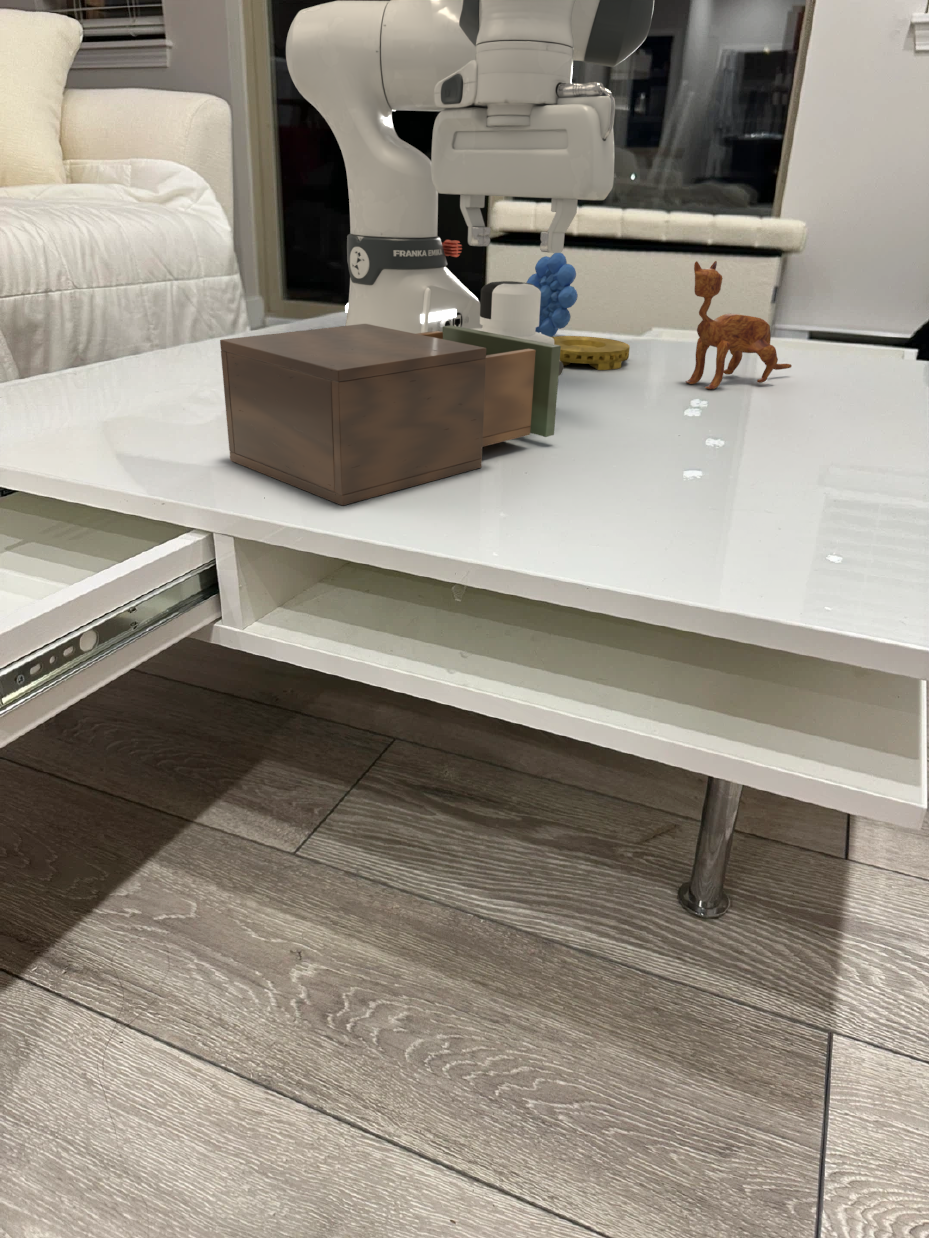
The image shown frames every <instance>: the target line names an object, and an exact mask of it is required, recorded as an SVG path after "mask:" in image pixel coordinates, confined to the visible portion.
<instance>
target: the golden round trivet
mask: <svg viewBox="0 0 929 1238" xmlns="http://www.w3.org/2000/svg"><path fill="white" fill-rule="evenodd" d="M552 338H553V339H554V345H559V346H561V350H560V361H561V362H562V363H563V367H564V366H567V365H570V364H571V363H572V364H589V366H590V367H591V368H594V369H596V370H597V371H608V370H609V371H610V370H617V369H621V368H622V363H623V362H626V361H628V360H629V359H630V358H629V357H630V356H629V355H630V349H631V347H630V346H631V345H630V344H628V343H626V342H623V341H621V340H617V339H611V338H606V337H597V336H586V335H585V336H584V335H554V336H553V337H552Z"/></svg>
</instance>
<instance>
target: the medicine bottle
mask: <svg viewBox="0 0 929 1238" xmlns="http://www.w3.org/2000/svg"><path fill="white" fill-rule="evenodd" d="M540 301H541V291H540V289H539V288H538V287H536V286H534V285H533V284H530V283H526V282H523V281H512V280H510V281H509V280H501V281H491V282H489V283H487V284H485V285H483V286H482V288H481V289H480V300H479V302H480V324H481V325H483V328H473V329H474V330H479V331H484V332H490V333H495V334H500V335H506V336H511V337H517V338H522V339H527V340H533V341H538V342H543V343H549V344H554V339H553V338H552V337H549V336H546V335H544V334H541V332H540V333H538V332H535V330H536V327H538V326H539V316H540Z"/></svg>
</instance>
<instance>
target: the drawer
mask: <svg viewBox="0 0 929 1238" xmlns="http://www.w3.org/2000/svg"><path fill="white" fill-rule="evenodd" d="M417 334H419V335H424V336H429V337H434V338H439V339H444V340H449V341H454V342H459V343H464V344H469V345H474V346H479V347H484V348H486V371H485V395H484V420H483V444H482V448H483V447H487V446H491V445H495V444H499V443H503V442H507V441H511V440H515V439H519V438H523V437H527V436H530V435H531V434H532V435H536V436H540V437H544V438H547V437H551V436H554V435H555V427H556V426H555V424H556V415H557V414H556V412H557V402H558V401H557V400H558V389H559V377H560V376H562V373H563V371H564V366H563V363H562V362H561V361H560V350H561V346H559V345H554V344H549V343H543V342H538V341H533V340H527V339H522V338H517V337H511V336H506V335H500V334H495V333H490V332H484V331H479V330H474V329H468V328H463V327H458V326H452V325H450V326H443V328H442V332H440V331H433V332H425V333H417Z"/></svg>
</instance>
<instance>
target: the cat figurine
mask: <svg viewBox="0 0 929 1238" xmlns="http://www.w3.org/2000/svg"><path fill="white" fill-rule="evenodd" d="M717 266H718V262H717V260H715V261H714V262H713V263H712V264H711V266H710V267H709V268H702V267H701V265H700V263H699V261H697V260H696V261H695V262H694V264H693V273H694V295H695V296H697V297H700V298H703V299H704V300H703V303H702V304H701V306H700V308H699V311H698V315H699V317H700V318H701V319H702V320H701V321H700V323H699V324H698V325H697V328H696V333H697V336H698V337H699V338H698V339H697V341H696V348H695V365H694V369H693V372H692V375H691V376H690V377H689V378H688V379H687V380H685V383H686V384H689V385H695V384H697V383H699V382H700V381H701V379H702V378H703V375H704V372H705V365H706V355H707V352H708V350H709V348H710V347H713V348H716V357H715V372H714V376H713V378H712V380H711V382H710V384H708V385H707V386H705V387H704V388H705V389H707V390H715V389H717V388H718V387H719V386H720V385H721V383H722V381H723V378H724V375H733V373H734V372H735V370H736V369H737V368H738V366H739V365H740V364H741V362H742V360H743V353H745V354H757V356H758V357H759V359H760V360H761V362H763V363H764V365H765V368H764V370H763V372H762V374H761V377H760V378H757V380H756V383H760V384H761V383H765V382H766V381H767V379H768V377H769V376H770V374H771V373H772V372H773V370H775V371H778V370H779V371H780V370H786V369H791V368H792V364H790V363H778V361H779V358H778V354H777V349H776V347H775V346H774V345H773V344H771V338H772V334H771V333H772V332H771V326H770V324H769V323H768V322H767V321H766V320H764V319H763V318H761V317H757V316H752V315H745V314H739V313H732V312H731V313H724V314H722V315H720V316H718V317H716V318H714V319H712V318H711V317H709V315H708V314H707V313H708V312H709V309H710V306H711V304H712V301H713V300H712V299H713V298H714V297H715V296H717V295H719V294H720V293H721V289H722V283H723V275H722V274H721V273H719V271H718V270H716V269H717ZM728 352H729V353H730V354H731V358H730V360H729V362H728V365H727V368H726V369H725V366H726V365H725V364H726V358H727V355H728Z"/></svg>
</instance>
